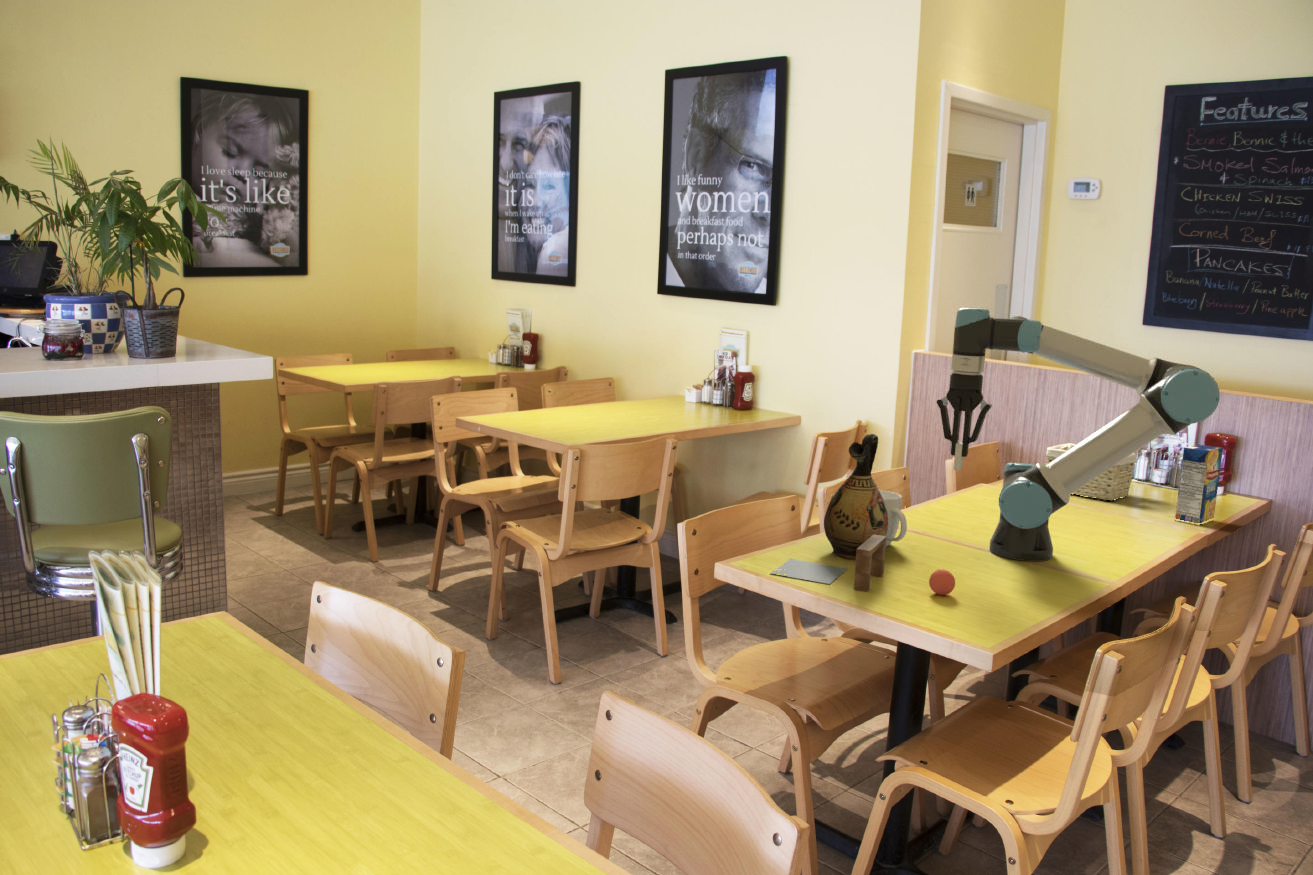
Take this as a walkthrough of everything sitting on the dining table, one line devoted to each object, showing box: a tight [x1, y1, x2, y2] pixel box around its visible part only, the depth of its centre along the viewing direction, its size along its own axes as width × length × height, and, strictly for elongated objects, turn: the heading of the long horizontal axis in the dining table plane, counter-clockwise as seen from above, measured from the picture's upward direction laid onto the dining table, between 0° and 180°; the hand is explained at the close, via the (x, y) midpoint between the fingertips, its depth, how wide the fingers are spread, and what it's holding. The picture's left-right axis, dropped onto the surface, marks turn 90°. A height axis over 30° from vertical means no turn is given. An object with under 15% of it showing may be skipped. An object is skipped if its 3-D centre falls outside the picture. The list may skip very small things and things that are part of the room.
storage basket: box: [1045, 442, 1138, 501], centre depth 336 cm, size 24×16×15 cm
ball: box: [928, 569, 956, 596], centre depth 224 cm, size 6×6×6 cm
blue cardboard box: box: [1174, 444, 1224, 523], centre depth 302 cm, size 7×11×22 cm, turn 132°
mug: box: [879, 489, 908, 547], centre depth 262 cm, size 15×11×13 cm
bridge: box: [853, 534, 887, 592], centre depth 231 cm, size 3×14×9 cm, turn 154°
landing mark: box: [769, 558, 848, 586], centre depth 237 cm, size 14×14×1 cm
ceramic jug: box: [823, 433, 888, 560], centre depth 251 cm, size 17×15×30 cm
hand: (957, 469), depth 250 cm, fingers closed
